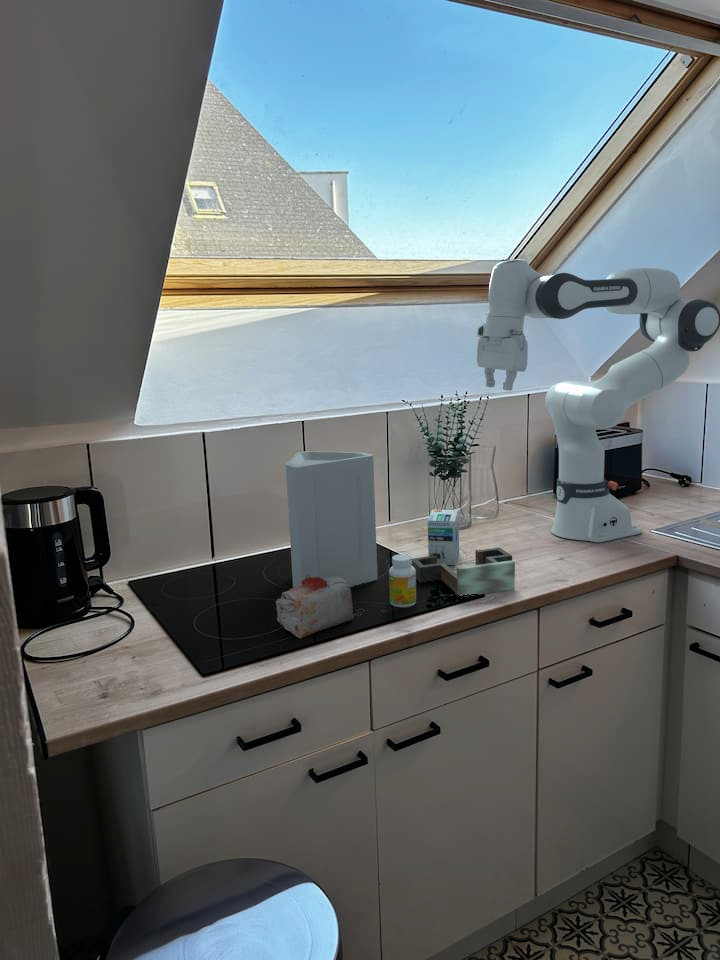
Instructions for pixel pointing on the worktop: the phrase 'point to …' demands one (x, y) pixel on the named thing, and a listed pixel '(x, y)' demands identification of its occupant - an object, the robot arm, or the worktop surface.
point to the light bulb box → (444, 535)
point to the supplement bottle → (402, 581)
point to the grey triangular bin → (332, 516)
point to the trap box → (471, 573)
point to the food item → (315, 605)
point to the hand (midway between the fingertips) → (498, 388)
